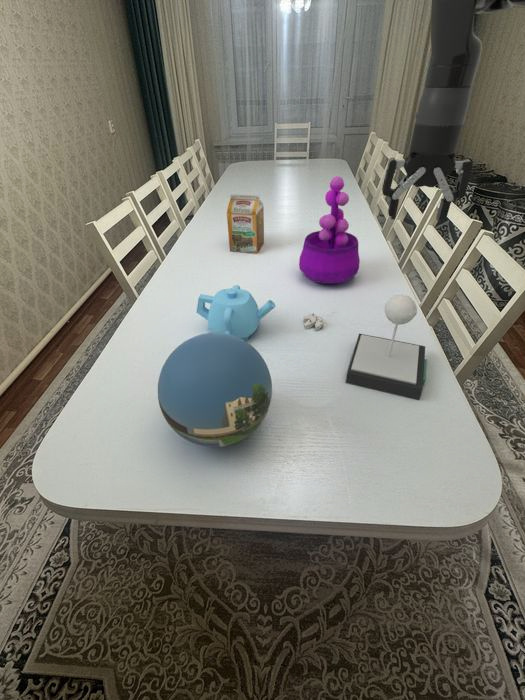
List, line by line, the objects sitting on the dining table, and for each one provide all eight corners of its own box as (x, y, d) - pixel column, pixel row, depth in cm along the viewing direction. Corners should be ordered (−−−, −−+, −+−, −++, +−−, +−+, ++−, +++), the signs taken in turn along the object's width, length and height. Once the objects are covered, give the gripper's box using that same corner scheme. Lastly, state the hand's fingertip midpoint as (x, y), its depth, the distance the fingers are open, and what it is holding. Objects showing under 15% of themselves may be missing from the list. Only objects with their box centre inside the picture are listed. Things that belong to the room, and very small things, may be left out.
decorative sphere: (176, 393, 76) (156, 313, 64) (268, 387, 77) (266, 307, 64) (162, 475, 61) (133, 392, 48) (277, 466, 61) (277, 382, 49)
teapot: (191, 348, 88) (184, 307, 81) (206, 311, 101) (201, 273, 94) (272, 352, 86) (272, 310, 79) (277, 314, 99) (277, 275, 92)
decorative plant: (290, 269, 121) (293, 172, 102) (339, 260, 125) (350, 166, 106) (313, 295, 107) (321, 188, 88) (368, 285, 111) (387, 181, 92)
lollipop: (368, 355, 79) (381, 295, 70) (384, 344, 82) (398, 286, 72) (392, 369, 75) (409, 308, 66) (408, 357, 78) (426, 297, 69)
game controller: (298, 326, 94) (298, 318, 93) (319, 307, 102) (319, 299, 100) (317, 333, 92) (317, 324, 90) (337, 313, 99) (338, 305, 97)
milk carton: (264, 242, 139) (263, 191, 128) (257, 253, 131) (255, 199, 120) (238, 240, 142) (234, 190, 130) (229, 251, 134) (225, 198, 122)
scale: (424, 356, 84) (428, 344, 81) (422, 401, 73) (426, 388, 70) (357, 343, 88) (359, 331, 86) (345, 382, 77) (347, 370, 75)
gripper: (396, 123, 58) (378, 224, 68) (493, 123, 55) (459, 228, 65) (392, 118, 63) (376, 211, 73) (479, 117, 61) (450, 214, 71)
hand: (415, 219), depth 69 cm, fingers open, 8 cm apart
